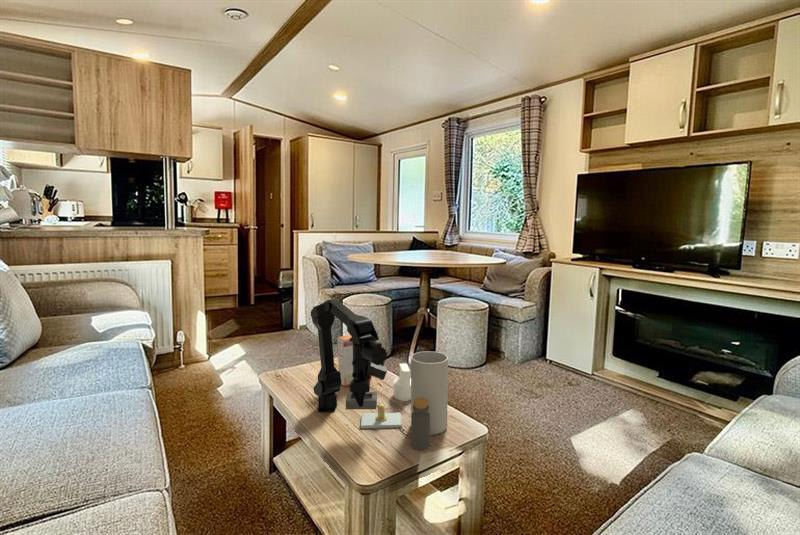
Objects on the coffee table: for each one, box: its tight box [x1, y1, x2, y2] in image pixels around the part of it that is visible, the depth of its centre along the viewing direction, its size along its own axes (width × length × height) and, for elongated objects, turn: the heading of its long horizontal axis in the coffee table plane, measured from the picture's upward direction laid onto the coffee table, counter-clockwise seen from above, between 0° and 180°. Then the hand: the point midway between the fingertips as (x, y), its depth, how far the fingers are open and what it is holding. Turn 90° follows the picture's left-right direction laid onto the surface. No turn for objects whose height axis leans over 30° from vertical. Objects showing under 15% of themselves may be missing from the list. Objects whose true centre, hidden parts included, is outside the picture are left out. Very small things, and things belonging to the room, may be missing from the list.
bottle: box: [410, 398, 431, 451], centre depth 135 cm, size 6×6×15 cm
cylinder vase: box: [410, 350, 449, 436], centre depth 146 cm, size 12×12×25 cm
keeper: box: [360, 403, 402, 429], centre depth 151 cm, size 14×9×6 cm, turn 92°
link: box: [345, 391, 378, 410], centre depth 143 cm, size 10×7×3 cm
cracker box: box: [336, 334, 373, 388], centre depth 187 cm, size 14×6×21 cm, turn 127°
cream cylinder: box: [393, 362, 411, 402], centre depth 173 cm, size 9×9×12 cm
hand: (361, 401), depth 143 cm, fingers closed on link, 7 cm apart
